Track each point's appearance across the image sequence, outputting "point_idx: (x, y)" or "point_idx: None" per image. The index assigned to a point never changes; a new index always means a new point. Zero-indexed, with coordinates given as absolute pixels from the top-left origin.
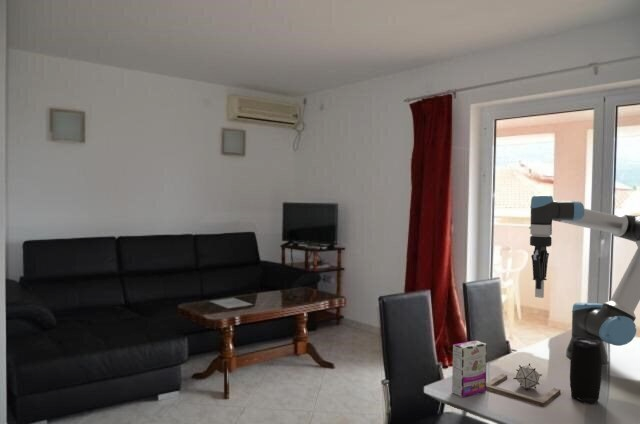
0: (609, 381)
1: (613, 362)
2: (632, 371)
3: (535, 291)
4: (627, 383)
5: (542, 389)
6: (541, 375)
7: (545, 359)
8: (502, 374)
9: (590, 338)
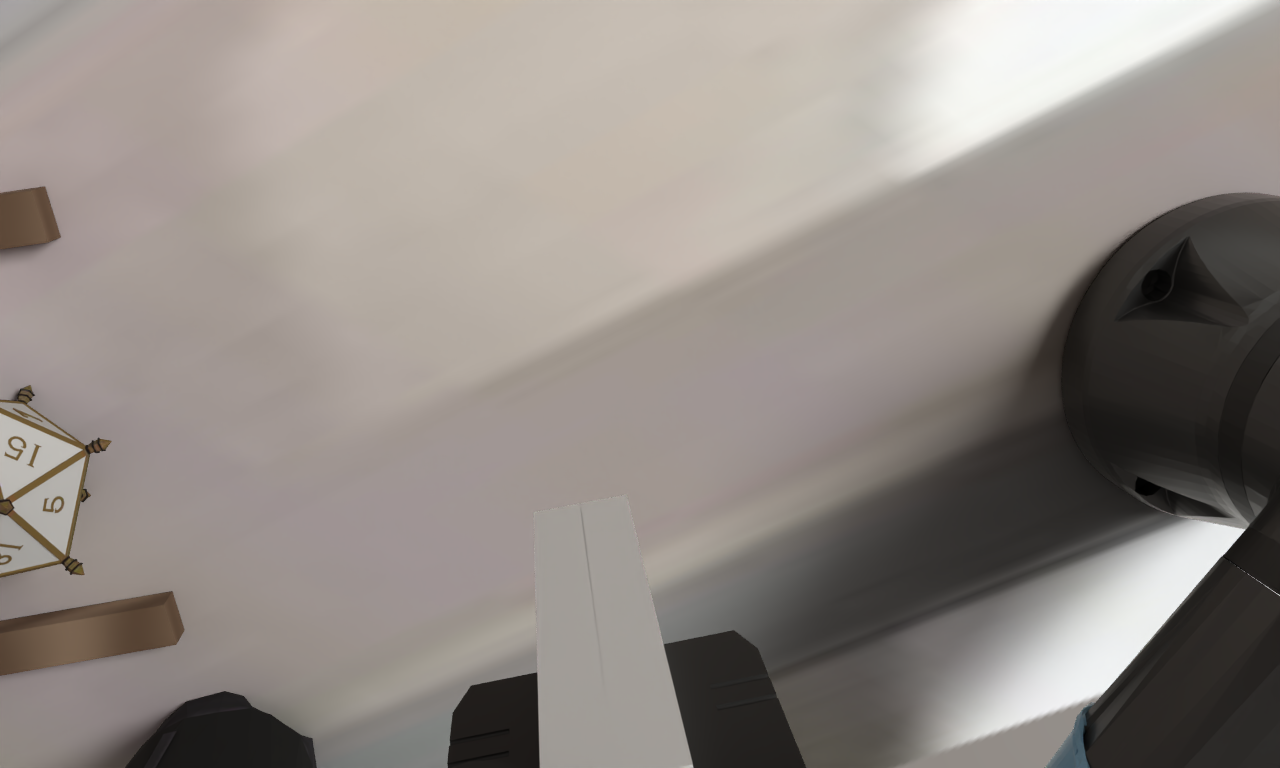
0: None
1: None
2: None
3: (539, 583)
4: (815, 762)
5: (125, 527)
6: (73, 571)
7: (891, 158)
8: (16, 205)
9: (1247, 505)
